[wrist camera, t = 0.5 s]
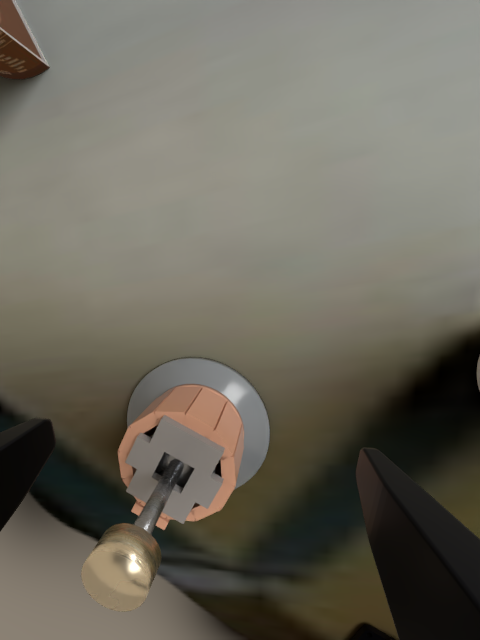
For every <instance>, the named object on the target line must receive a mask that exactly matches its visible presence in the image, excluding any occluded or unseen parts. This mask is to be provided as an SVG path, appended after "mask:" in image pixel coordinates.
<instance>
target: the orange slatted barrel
mask: <svg viewBox="0 0 480 640" xmlns="http://www.w3.org/2000/svg"><path fill="white" fill-rule="evenodd" d="M152 434H154V435H153V437H152V438H150V436H151V435H152ZM118 450H119V451H118V457H119V464H120V471H121V478H123V479H122V480H123V482H124V483H125V484H126V486H127V487H128V488H127V490H126V492H128V493H130V494H131V495H133V496H134V497H135V498H136V500H137V501H136V503H135V505H134V507H133V509H132V512H133V513H135V514H137V515H140V513H141V511H142V510H143V508H144V506H145V504H146V503H147V501H148V499H149V498H150V496H151V494H152V492H153V491H154V489H155V487H156V485H157V484H158V482H159V480H160V479H161V477H162V476H161V475H159V474H157V473H155V471H156V469H157V467H158V465H159V463H160V461H161V459H162V457H163V455H164V453H165V452H166V453H168V454H169V455H171V456H173V457H175V458H176V459H178V460H180V461H182V462H184V463H185V464H187V465H189V466H191V467H193V468H194V470H193V471H192V473H191V475H190V477H189V479H188V481H187V482H186V484H185V486H184V488H182V487H180V486H178V485H177V484H176V485H175V487H174V489H173V491H172V493H171V495H170V497H169V499H168V501H167V503H166V505H165V507H164V509H163V511H162V513H161V515H160V517H159V519H158V521H157V523H156V526H158V527H159V528H161V529H163V530H165V528H166V526H167V524H168V522H169V520H170V519H173V520H177V521H179V522H180V523H182V524H183V523H184V522H185V520H186V521H195V520H196V521H198V520H200V519H202V518H204V517H206V516H209V515H211V514H213V513H215V512H217V511H219V510H221V508H223V506H224V505H225V503H226V501H227V500H228V498H229V496H230V495H231V493H232V491H233V490H234V488H235V486H236V482H237V477H238V473H239V468H240V463H241V459H242V454H243V450H244V425H243V421H242V418H241V416H240V414H239V412H238V410H237V408H236V407H235V406H234V404H233V403H232V402H231V401H230V400H229V399H228V398H227V397H226V396H225V395H223V394H222V393H221V392H219V391H217V390H215V389H213V388H211V387H208V386H205V385H200V384H183V385H178V386H175V387H173V388H171V389H169V390H167V391H166V392H164V393H163V394H162V395H161V396H159V397H158V398H156V399H155V400H154V401H153V402H152V403H151V404H150V405H149V406H148V407H147V408H146V409H145V410H144V411H143V412H142V413H141V414H140V415H139V416H138V418H137V419H136V420H135V421H134V422H133V423H132V424H131V425H130V426H129V427H128V429H127V431H126V434H125V436H124V438H123V440H122V442H121V444H120V447H119V449H118ZM215 467H216V470H215V473H213V471H214V469H215Z"/></svg>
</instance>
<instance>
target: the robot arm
mask: <svg viewBox="0 0 480 640" xmlns="http://www.w3.org/2000/svg"><path fill="white" fill-rule="evenodd" d="M55 444H56V440H55V435H54V430H53V425H52V422H51V420H50V419H46V418H34V419H31V420H29V421H26V422H24V423H22V424H19V425H17V426H15V427H12V428H10V429H8V430H5V431H3V432H1V433H0V531H1V530H2V528H3V527H4V525H5V524H6V523H7V522H8V520H9V519H10V517H11V516H12V515H13V513H14V512H15V511H16V509H17V508H18V506H19V505H20V503H21V502H22V501H23V499H24V497H25V496H26V494H27V493H28V491H29V489H30V488H31V486H32V485H33V483H34V481H35V480H36V478H37V476H38V475H39V473H40V471H41V470H42V468H43V467H44V465H45V463H46V462H47V460H48V458H49V457H50V455H51V453H52V452H53V450H54V448H55ZM356 481H357V486H358V491H359V495H360V500H361V505H362V510H363V515H364V520H365V525H366V529H367V534H368V538H369V542H370V546H371V549H372V553H373V556H374V559H375V562H376V566H377V569H378V572H379V575H380V579H381V582H382V585H383V588H384V591H385V595H386V598H387V601H388V604H389V608H390V611H391V614H392V617H393V620H394V624H395V627H396V630H397V633H398V637H399V640H480V539H479V538H478V537H477V536H476V535H475V534H473V533H472V532H471V531H470V530H469V529H468V528H467V527H465V526H464V525H463V524H462V523H461V522H460V521H459V520H458V519H456V518H455V517H454V516H453V515H452V514H451V513H450V512H448V511H447V510H446V509H445V508H444V507H443V506H442V505H441V504H439V503H438V502H437V501H436V500H435V499H434V498H433V497H432V496H430V495H429V494H428V493H427V492H426V491H425V490H424V489H422V488H421V487H420V486H419V485H418V484H417V483H416V482H415V481H413V480H412V479H411V478H410V477H409V476H408V475H407V474H406V473H404V472H403V471H402V470H401V469H400V468H399V467H398V466H396V465H395V464H394V463H393V462H392V461H391V460H390V459H389V458H387V457H386V456H385V455H384V454H383V453H382V452H381V451H379V450H378V449H375V448H366V447H363V448H362V449H361V450H360V453H359V458H358V463H357V468H356ZM352 640H395V639H393V638H391V637H390V636H388V635H386V634H384V633H383V632H381V631H379V630H377V629H376V628H374V627H372V626H370V625H364V626H363V627H362V628H361V629H360V630H359V631H358V633H357V634H356V635H355V636H354V637H353V638H352Z"/></svg>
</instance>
